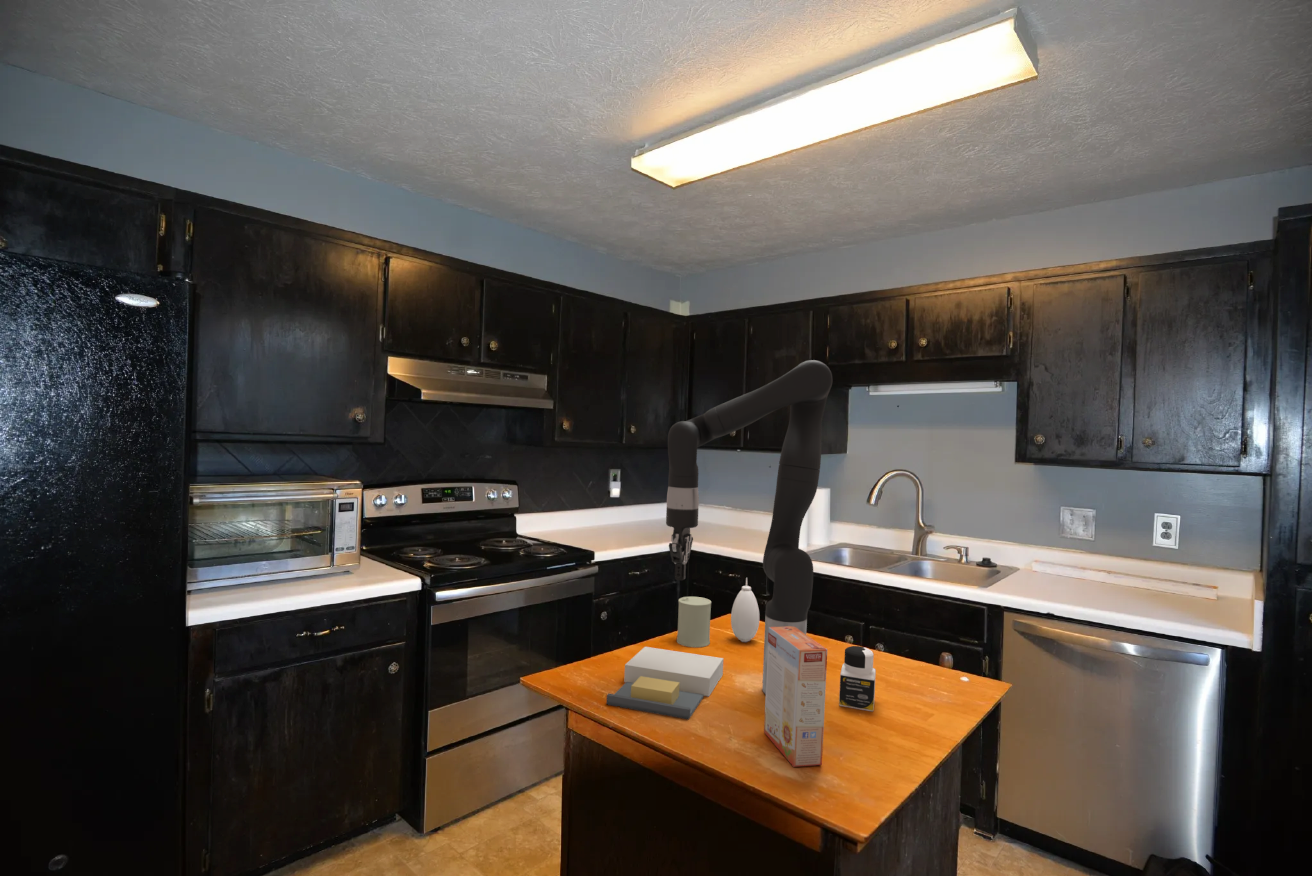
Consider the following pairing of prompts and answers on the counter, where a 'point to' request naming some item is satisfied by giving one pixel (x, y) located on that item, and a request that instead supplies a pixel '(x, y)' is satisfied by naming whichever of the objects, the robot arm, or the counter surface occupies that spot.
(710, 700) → the counter surface
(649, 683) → the yellow block
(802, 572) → the robot arm
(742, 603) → the white bulb air blower
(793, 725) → the cracker box
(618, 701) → the tray
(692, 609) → the can
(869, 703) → the medicine bottle
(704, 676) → the white flat block
